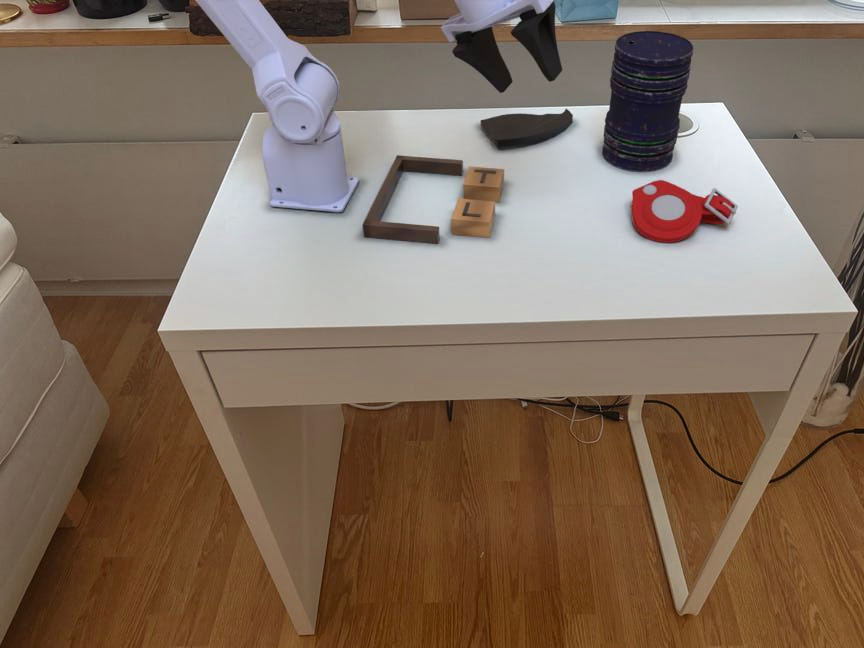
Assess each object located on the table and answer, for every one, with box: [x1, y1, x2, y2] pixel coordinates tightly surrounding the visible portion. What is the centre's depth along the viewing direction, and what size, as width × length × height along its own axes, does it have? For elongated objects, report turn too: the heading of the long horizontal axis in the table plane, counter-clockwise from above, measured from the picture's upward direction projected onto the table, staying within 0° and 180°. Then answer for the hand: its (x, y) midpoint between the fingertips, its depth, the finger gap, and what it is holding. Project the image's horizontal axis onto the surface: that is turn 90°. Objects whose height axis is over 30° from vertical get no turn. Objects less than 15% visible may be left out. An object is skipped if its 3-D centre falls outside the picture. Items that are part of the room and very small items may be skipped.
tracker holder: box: [630, 179, 739, 244], centre depth 89 cm, size 12×4×10 cm
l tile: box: [450, 198, 496, 239], centre depth 89 cm, size 5×5×2 cm
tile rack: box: [362, 154, 464, 245], centre depth 92 cm, size 9×17×2 cm, turn 171°
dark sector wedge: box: [480, 108, 574, 151], centre depth 107 cm, size 8×14×2 cm, turn 107°
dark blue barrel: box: [601, 30, 695, 173], centre depth 97 cm, size 10×10×15 cm
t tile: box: [462, 166, 505, 203], centre depth 94 cm, size 5×5×2 cm
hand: (530, 81), depth 83 cm, fingers open, 7 cm apart
